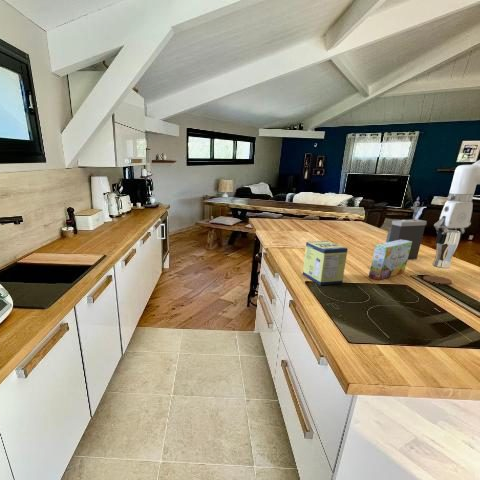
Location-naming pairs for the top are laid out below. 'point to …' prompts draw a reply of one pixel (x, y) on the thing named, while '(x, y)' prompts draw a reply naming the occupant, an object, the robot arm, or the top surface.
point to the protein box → (324, 262)
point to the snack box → (390, 259)
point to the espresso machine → (408, 234)
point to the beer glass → (446, 249)
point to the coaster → (437, 280)
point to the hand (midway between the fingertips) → (447, 242)
